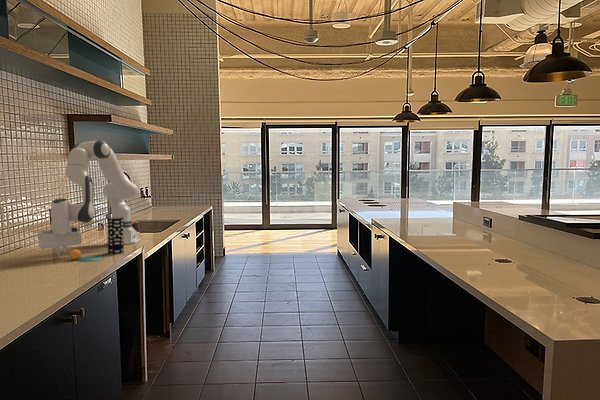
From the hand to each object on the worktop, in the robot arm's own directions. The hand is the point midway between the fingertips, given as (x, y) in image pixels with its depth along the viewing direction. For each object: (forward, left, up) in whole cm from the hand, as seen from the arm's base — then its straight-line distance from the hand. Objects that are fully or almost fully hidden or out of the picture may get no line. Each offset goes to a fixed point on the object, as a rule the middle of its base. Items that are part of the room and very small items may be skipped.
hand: (61, 254), depth 237 cm
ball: (+3, +10, +1) cm, 10 cm away
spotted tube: (-18, +21, -2) cm, 28 cm away
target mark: (0, +16, -2) cm, 16 cm away
